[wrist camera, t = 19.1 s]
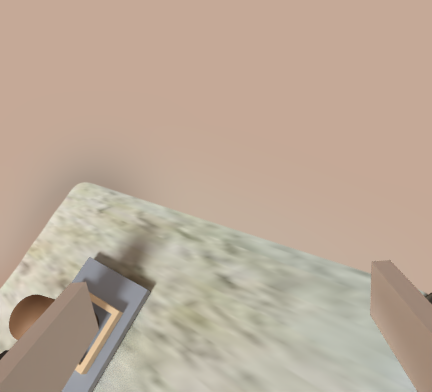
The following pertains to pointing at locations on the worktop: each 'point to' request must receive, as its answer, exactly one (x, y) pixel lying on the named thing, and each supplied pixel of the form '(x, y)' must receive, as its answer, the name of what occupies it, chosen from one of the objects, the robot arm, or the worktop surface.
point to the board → (105, 320)
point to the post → (29, 314)
